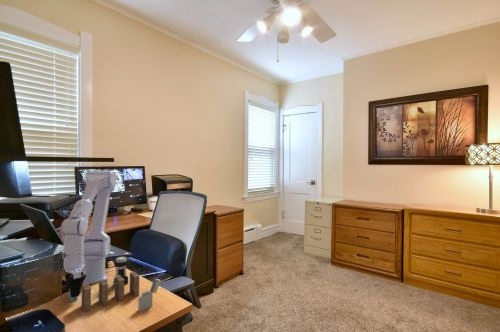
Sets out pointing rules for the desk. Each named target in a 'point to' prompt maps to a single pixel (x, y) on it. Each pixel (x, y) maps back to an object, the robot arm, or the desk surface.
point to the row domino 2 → (103, 292)
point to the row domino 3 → (119, 288)
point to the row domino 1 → (86, 297)
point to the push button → (121, 269)
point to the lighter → (148, 296)
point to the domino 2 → (134, 284)
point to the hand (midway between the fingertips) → (73, 292)
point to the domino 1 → (71, 297)
